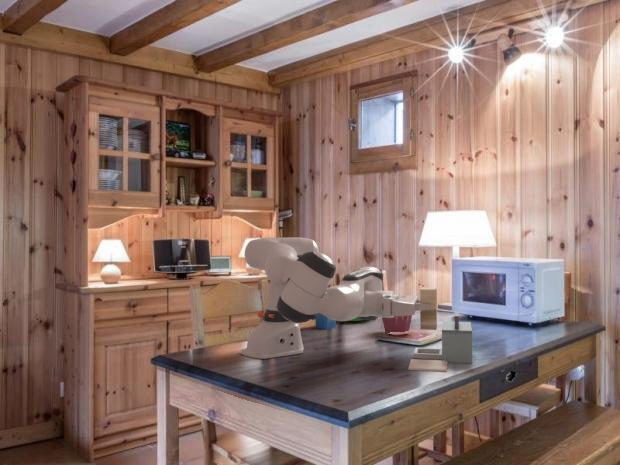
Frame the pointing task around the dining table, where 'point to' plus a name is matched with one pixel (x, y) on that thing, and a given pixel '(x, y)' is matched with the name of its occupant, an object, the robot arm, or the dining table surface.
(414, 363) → the pad
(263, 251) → the robot arm
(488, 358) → the dining table surface
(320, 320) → the perfume bottle
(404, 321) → the plant pot
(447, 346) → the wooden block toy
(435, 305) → the wooden block
